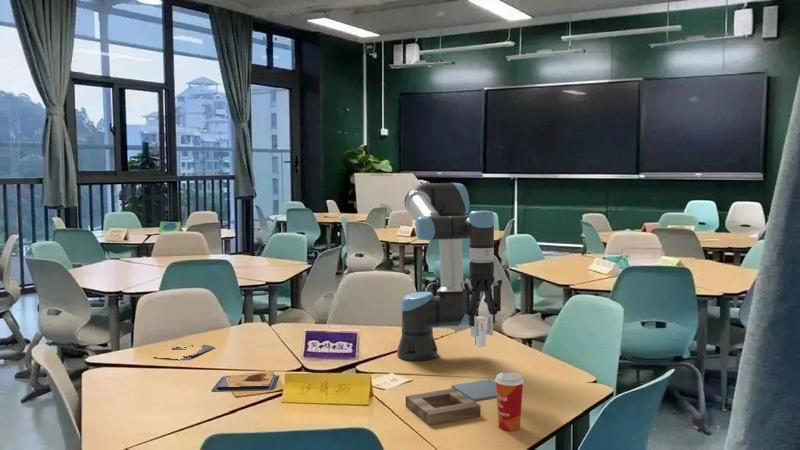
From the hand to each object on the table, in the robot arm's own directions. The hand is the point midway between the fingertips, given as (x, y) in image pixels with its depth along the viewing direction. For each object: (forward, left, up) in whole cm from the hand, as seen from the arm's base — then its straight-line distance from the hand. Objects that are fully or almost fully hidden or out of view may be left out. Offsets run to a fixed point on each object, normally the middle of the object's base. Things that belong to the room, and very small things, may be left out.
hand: (481, 335), depth 199 cm
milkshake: (0, 0, -3) cm, 3 cm away
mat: (0, 0, -18) cm, 18 cm away
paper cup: (+28, -8, -18) cm, 34 cm away
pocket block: (+10, -19, -18) cm, 28 cm away
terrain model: (-87, -81, -19) cm, 120 cm away
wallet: (-39, -66, -19) cm, 79 cm away
